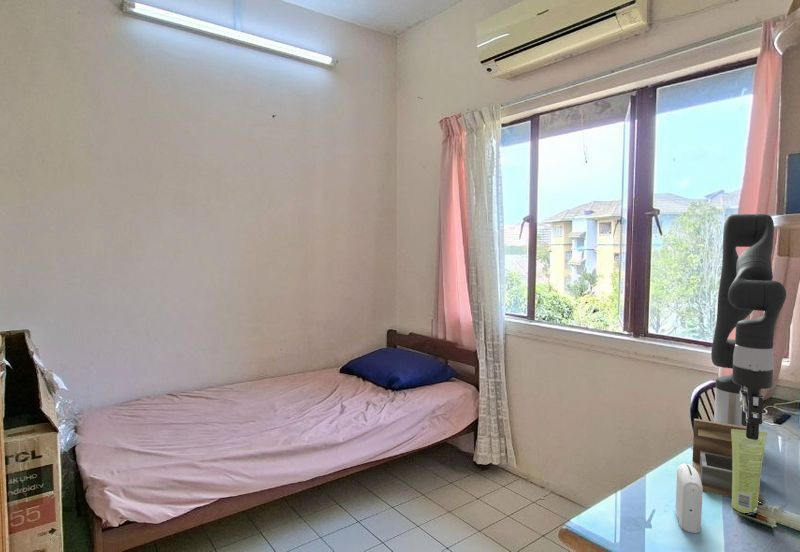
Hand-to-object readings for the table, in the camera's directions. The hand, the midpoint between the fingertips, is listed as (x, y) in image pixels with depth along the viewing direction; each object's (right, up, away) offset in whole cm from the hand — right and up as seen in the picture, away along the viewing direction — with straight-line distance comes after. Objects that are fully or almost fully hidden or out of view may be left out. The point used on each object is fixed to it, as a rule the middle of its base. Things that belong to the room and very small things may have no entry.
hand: (749, 432), depth 108 cm
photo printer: (-16, -20, -3) cm, 26 cm away
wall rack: (+4, -18, +14) cm, 24 cm away
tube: (0, -19, +1) cm, 19 cm away
